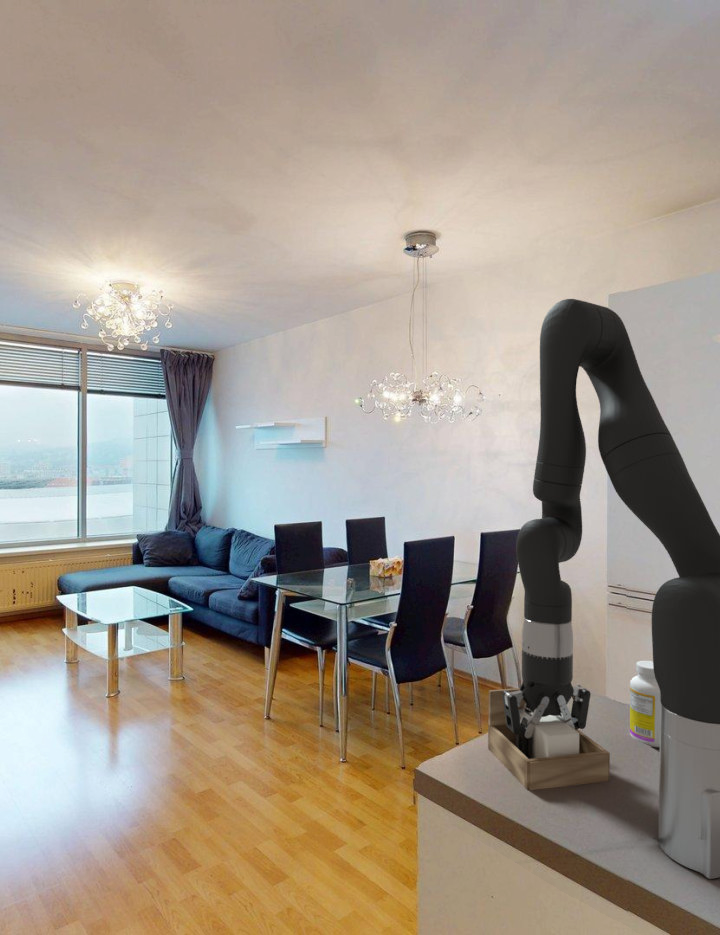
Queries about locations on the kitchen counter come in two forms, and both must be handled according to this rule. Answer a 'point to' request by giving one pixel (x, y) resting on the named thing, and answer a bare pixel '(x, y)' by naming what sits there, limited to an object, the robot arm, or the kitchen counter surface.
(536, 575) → the robot arm
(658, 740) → the supplement bottle
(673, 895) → the kitchen counter surface
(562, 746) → the capped box
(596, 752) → the wooden box
